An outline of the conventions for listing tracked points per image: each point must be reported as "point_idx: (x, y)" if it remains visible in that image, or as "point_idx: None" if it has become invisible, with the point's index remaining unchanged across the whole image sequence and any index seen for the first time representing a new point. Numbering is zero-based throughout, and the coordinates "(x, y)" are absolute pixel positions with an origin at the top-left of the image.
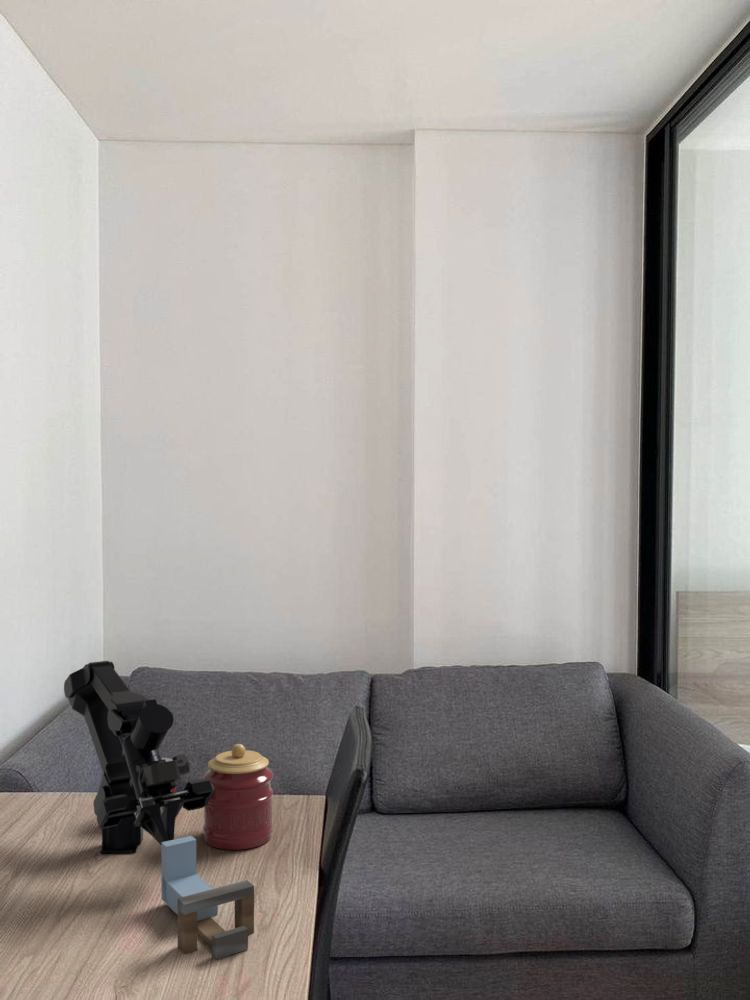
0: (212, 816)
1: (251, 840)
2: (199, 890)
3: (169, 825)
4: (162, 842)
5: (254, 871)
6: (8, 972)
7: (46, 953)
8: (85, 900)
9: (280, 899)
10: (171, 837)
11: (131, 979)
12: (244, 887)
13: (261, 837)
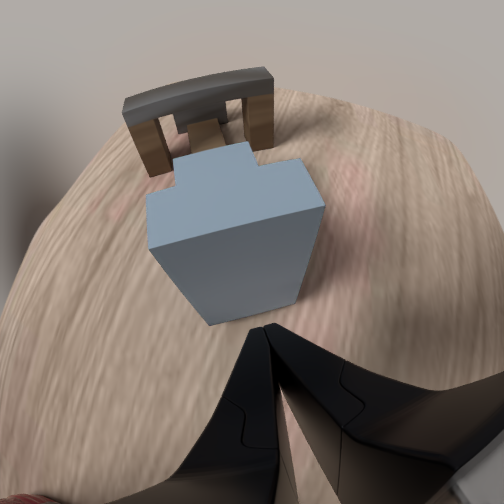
0: None
1: (36, 498)
2: (207, 174)
3: (261, 399)
4: (320, 201)
5: (54, 397)
6: (472, 170)
7: (456, 191)
8: (455, 370)
9: (63, 252)
10: (254, 351)
11: (334, 110)
12: (142, 93)
13: (21, 494)
